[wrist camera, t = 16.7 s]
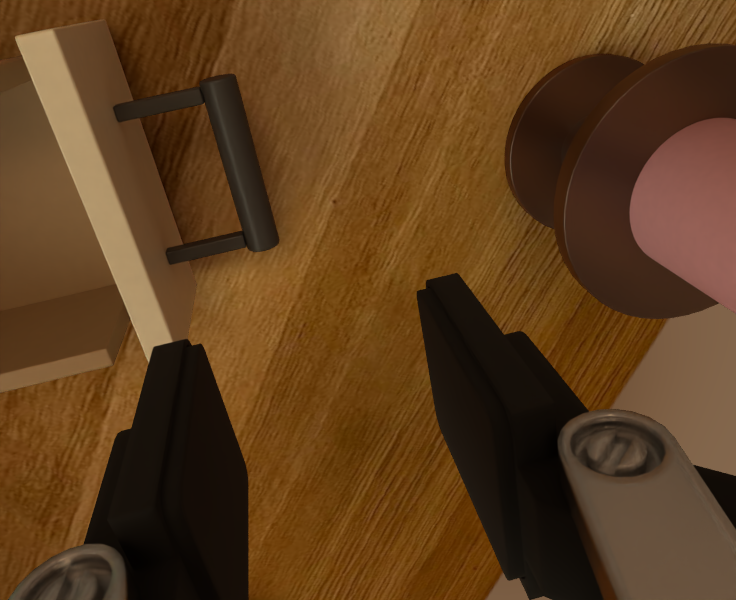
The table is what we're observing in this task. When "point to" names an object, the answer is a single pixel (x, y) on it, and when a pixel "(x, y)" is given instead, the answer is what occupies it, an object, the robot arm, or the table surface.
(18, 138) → the drawer
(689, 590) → the robot arm
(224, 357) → the table surface
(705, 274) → the pink cylinder
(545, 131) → the stand
